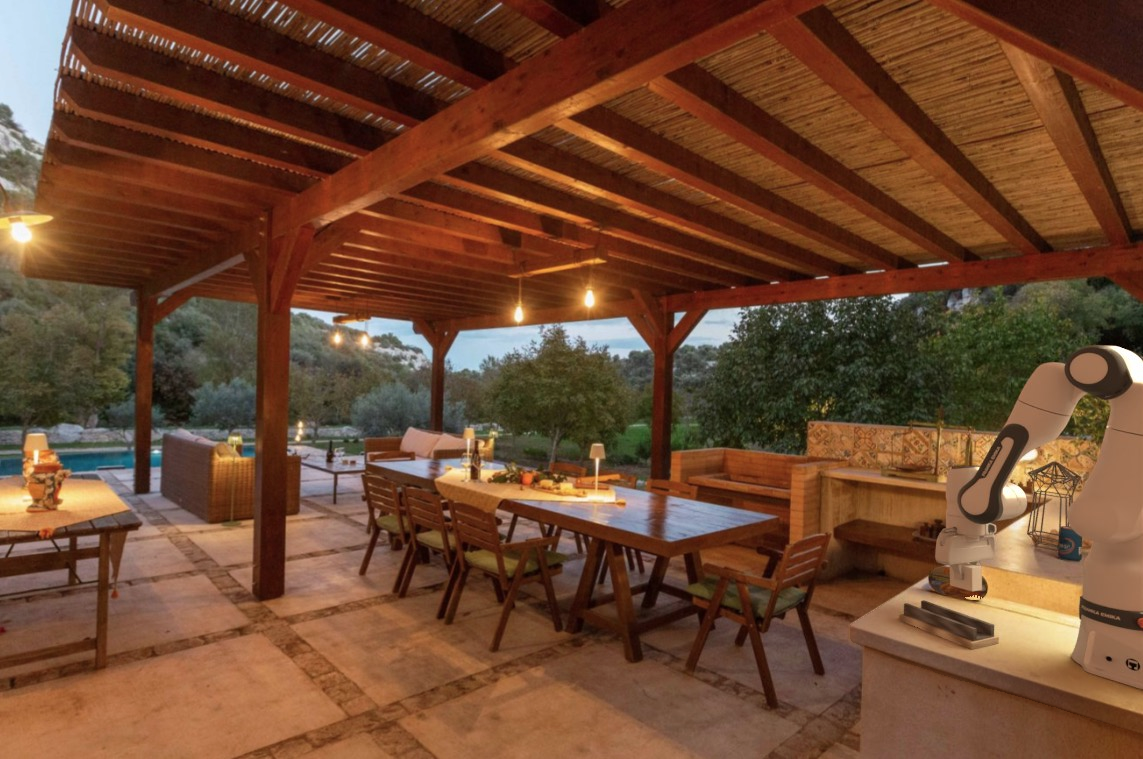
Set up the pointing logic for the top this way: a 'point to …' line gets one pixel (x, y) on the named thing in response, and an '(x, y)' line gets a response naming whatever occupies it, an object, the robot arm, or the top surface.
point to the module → (968, 577)
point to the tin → (941, 585)
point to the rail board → (950, 625)
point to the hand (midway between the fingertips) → (965, 578)
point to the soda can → (1069, 545)
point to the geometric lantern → (1035, 473)
